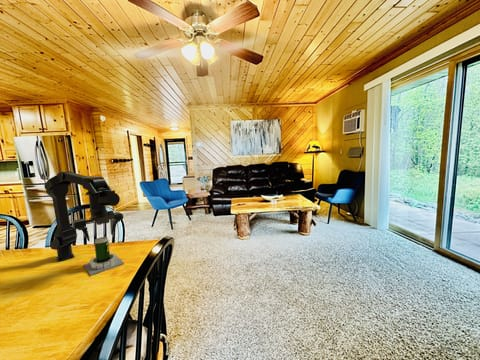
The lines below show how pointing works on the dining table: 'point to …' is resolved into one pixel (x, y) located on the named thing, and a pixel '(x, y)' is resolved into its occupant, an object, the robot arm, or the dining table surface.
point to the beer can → (102, 249)
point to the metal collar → (103, 264)
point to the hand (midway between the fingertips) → (100, 237)
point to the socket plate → (93, 272)
